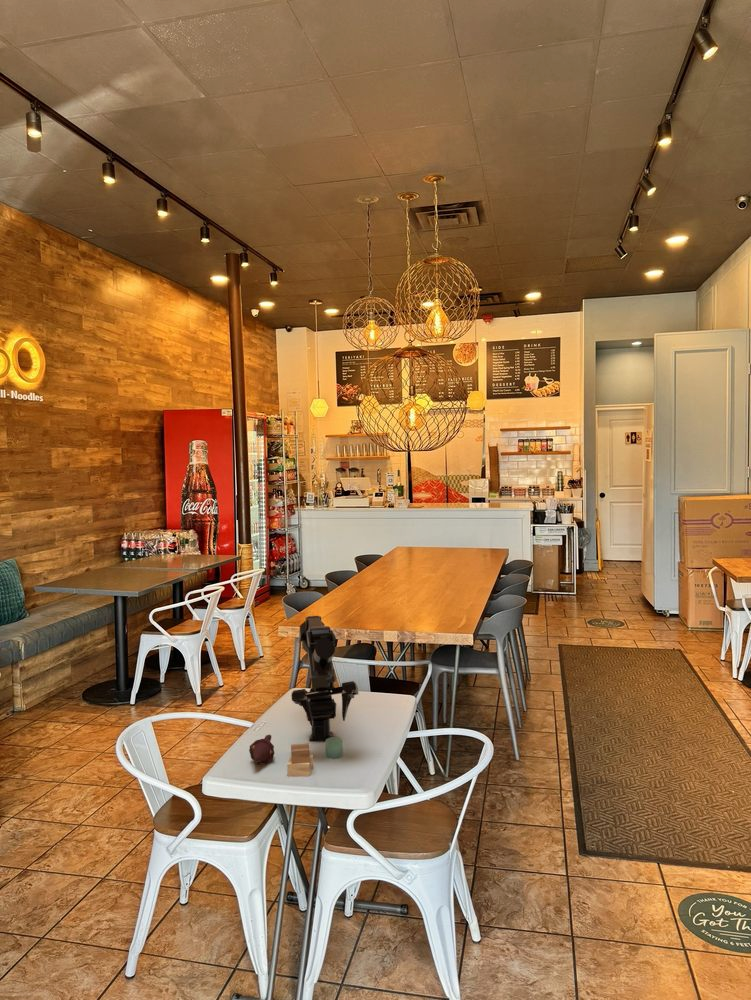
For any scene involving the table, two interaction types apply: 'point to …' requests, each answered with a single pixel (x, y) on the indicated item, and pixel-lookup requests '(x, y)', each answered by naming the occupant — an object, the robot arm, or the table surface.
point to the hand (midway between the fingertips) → (327, 723)
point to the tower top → (300, 753)
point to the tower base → (300, 768)
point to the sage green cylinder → (334, 747)
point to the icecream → (262, 750)
